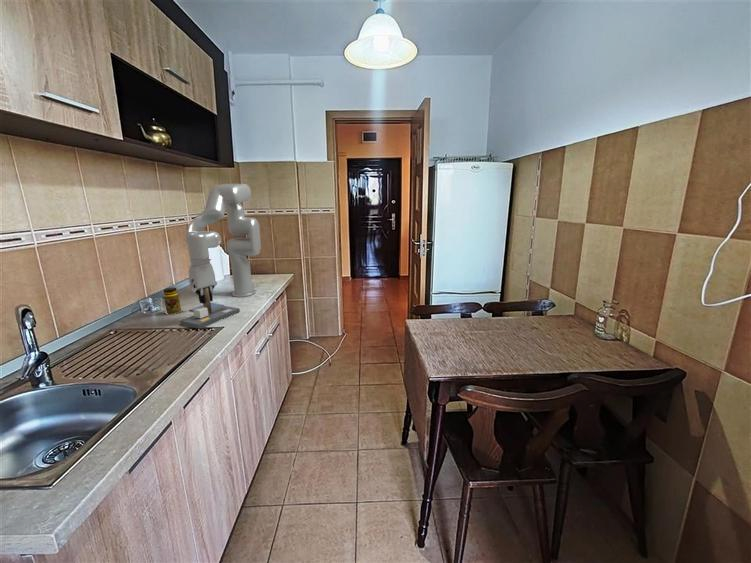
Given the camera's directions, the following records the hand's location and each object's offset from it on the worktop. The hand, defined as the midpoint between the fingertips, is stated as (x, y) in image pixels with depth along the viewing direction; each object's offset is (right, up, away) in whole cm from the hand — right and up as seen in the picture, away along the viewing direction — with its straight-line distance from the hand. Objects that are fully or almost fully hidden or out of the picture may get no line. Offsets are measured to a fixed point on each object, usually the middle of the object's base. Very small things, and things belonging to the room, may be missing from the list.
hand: (206, 301), depth 151 cm
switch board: (+1, -8, +2) cm, 8 cm away
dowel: (0, -5, +1) cm, 5 cm away
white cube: (-1, -6, -2) cm, 7 cm away
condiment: (-22, -6, +12) cm, 25 cm away
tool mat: (-8, -4, +16) cm, 18 cm away
